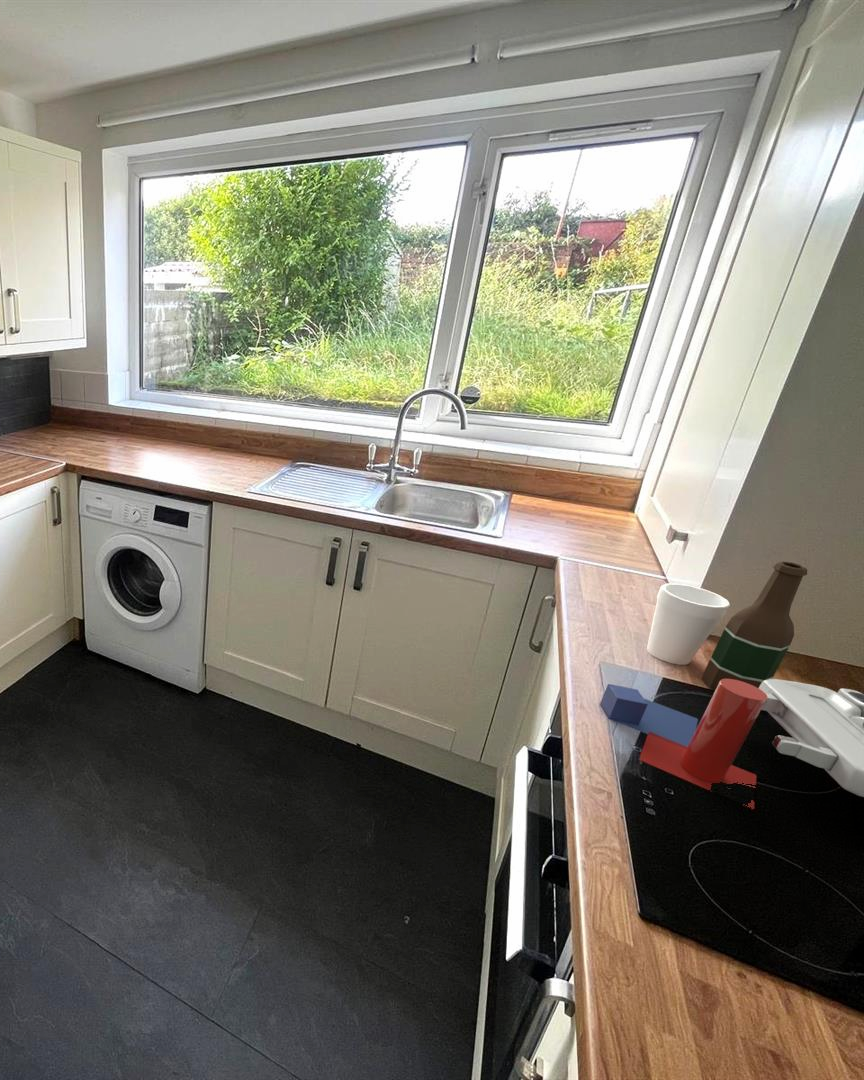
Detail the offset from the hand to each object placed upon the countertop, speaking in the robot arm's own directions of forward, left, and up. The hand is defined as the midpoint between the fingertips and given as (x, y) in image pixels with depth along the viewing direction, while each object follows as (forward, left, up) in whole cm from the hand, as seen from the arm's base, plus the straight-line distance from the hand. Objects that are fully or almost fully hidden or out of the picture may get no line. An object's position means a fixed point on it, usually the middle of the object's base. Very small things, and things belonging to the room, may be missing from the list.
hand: (755, 720), depth 78 cm
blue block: (+13, -4, -9) cm, 16 cm away
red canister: (+3, +2, -9) cm, 10 cm away
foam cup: (+10, -34, -10) cm, 37 cm away
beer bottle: (+1, -28, -10) cm, 30 cm away
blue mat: (+9, -7, -10) cm, 15 cm away
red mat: (+3, +2, -10) cm, 10 cm away
